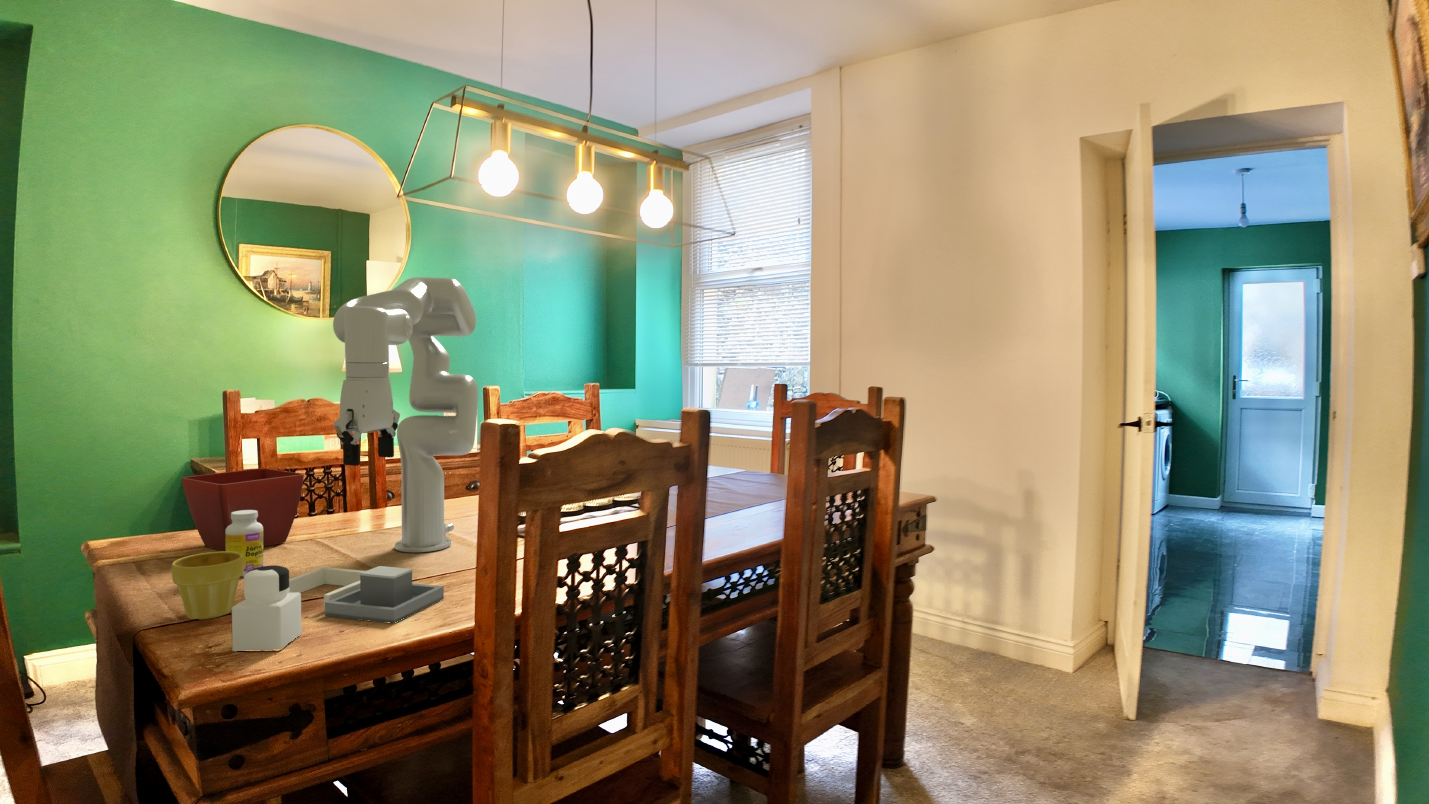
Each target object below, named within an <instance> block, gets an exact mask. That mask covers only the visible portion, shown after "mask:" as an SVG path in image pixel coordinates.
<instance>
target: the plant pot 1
mask: <svg viewBox="0 0 1429 804" xmlns="http://www.w3.org/2000/svg"><path fill="white" fill-rule="evenodd" d="M304 477H305V474H304V473H300V472H293V471H286V470H281V469H279V470H278V469H274V468H267V467H266V468H263V467H261V468H254V469H243V470H241V469H240V470H234V471H233V470H232V471H225V472H218V473H217V472H214V473H207V474H206V473H205V474H200V475H199V474H198V475H190V476H183V477H181V481H182V482H181V483H182V487H183V491H184V495H185V499H186V501H187V506H188V509H189V512H190V516H191V518H192V520H193V523H194V525H195V527H196V530H197V532H198V535H199V536H200V538H201V540H202V543H203V546H204V547H207V548H209V549H210V548H211V549H214V550H218V551H226V536H225V531H226V528H227V527H228V526H229V525H231V524H232V519H231V513H232V512H235V511H241V510H256V511H258V517H257V519H256V520H257V522H258V523H260V524H262V526H263V548H264V547H269V546H274V545H280V544H283V543H286V542H287V539H288V537H289V535H290V532H291V529H292V526H293V525H294V524H293V523H294V521H295V518H296V516H297V512H298V508H299V504H300V500H301V495H302V490H303V486H304V485H303V484H304V480H305V479H304Z"/></svg>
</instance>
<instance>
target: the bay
mask: <svg viewBox="0 0 1429 804" xmlns="http://www.w3.org/2000/svg"><path fill="white" fill-rule="evenodd" d="M365 571H366V570H360V569H359V570H357V569H350V568H340V567H338V568H337V567H329V566H328V567H327V566H323V567H319V568H317V569H314V570H311V571H308V572H305V573H303V574H300V575H299V574H298V575H297V576H294V577H292V578H290V577H289V592H288V593H295V592H299V593H301V594H302V593H304V592H306V591H309V590H312V589H315V588H317V587H321V586H322V585H332V586H333V585H334V586H341V587H339V588H336V589H335V590H332V591H329V592H328V593H324V594H323V611H324V612H325V602H327V601H330V600H332V599H335V598H337V597H339V596H342V595H344V594H347V593H349V592H352V591H354V590H357V589H359V588H360V573H362V572H365Z"/></svg>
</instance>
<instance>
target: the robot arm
mask: <svg viewBox="0 0 1429 804" xmlns="http://www.w3.org/2000/svg"><path fill="white" fill-rule="evenodd" d="M476 326H477V317H476V311H475V309H474V305H473V304H472V302H471V300H470V297H469V295H468V293H467V292H466V290H465V288H464V286H463V285H462V284H461V283H460V282H459V281H457V279H455V278H450V277H430V276H429V277H428V276H427V277H426V276H424V277H423V276H420V277H419V276H417V277H416V276H414V277H410V278H408V279H405V280H404V281H403V282H401V283H400V284H398V285H397V286H396V287H394V288H393V289H391V290H387V291H381V292H377V293H372V294H367V295H363V296H359V297H356V298H352V299H350V300H348V301H347V302H345V303H343V304H342V305H341V306H340V307H339V308H338V309H337V310H336V313H335V314H334V316H333V320H332V328H333V332H334V334H335V336H336V338H337V339H338V340H339V341H340V342H341V343H343V344H344V357H345V358H344V359H345V360H344V361H345V362H344V364H345V379H343V381H342V384H341V392H340V397H339V398H340V400H339V417H338V418H337V419H336V420H335V421H334V422H333V424H332V425H333V428H334V430H335V432H336V436H337V438H338V439H339V442H340V444H341V445H342V458H343V459H342V460H343V465H344V466H352V467H354V466H355V467H358V466H360V465H361V444H360V443H358V442H359V440H360V439H361V436H362V434H366V433H371V432H377V433H378V434H379V435H380V436H377V455H378V457H379V458H391V459H392V458H394V457H395V437H396V440H397V446H398V451H399V456H400V467H401V468H400V469H401V470H400V471H401V472H400V473H401V539H400V540H398V541H396V542H395V543H394V549H395V550H396V551H398V552H403V553H427V552H429V553H430V552H436V551H439V550H445V549H446V548H449V547H451V545H452V539H451V538H449V537H446V534H447V533H449V532H452V531H453V530H454V529H455V526H454V524H453V523H447V524H445V474H444V473H445V472H444V470H443V468H442V466H441V464H440V463H439V462H438V461H437V459H436V458H435V457H436V456H464V455H465V456H466V455H468V454H469V453H471V452H472V450H473V449H474V445H475V438H476V429H477V420H478V419H477V418H478V417H477V416H478V407H479V388H478V384H477V381H476V379H475V378H474V377H472V376H471V375H469V374H464V373H463V374H462V373H450V367H451V366H450V365H451V364H450V363H451V358H450V357H451V355H449V352H448V351H447V350H446V348H445V347H444V346H443V345H442V344H441V342H439V340H437V339H436V338H435V337H460V338H461V337H469V336H470V335H472V334H473V333H474V331H475V329H476ZM407 341H408V342H409V345H410V348H411V351H412V356H413V358H412V359H413V361H412V367H411V377H410V386H409V393H408V395H409V396H408V401H409V404H410V406H411V408H412V409H413V410H415V411H417V412H421V413H440V414H441V413H442V414H443V413H444V414H445V413H450V414H451V413H453V414H455V415H435V414H433V415H431V414H430V415H426V414H423V415H422V414H421V415H411V416H408V417H405V418H403V419H402V420H401V421H400V418H401V414H400V412H398V411H396V409H394V401H393V400H394V399H393V392H392V386H391V381H390V380H391V379H390V358H389V357H390V352H389V349H390V347H389V346H399V345H403V344H405V343H406V342H407ZM399 421H400V422H399ZM352 434H353V435H352Z"/></svg>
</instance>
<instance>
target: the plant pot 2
mask: <svg viewBox="0 0 1429 804" xmlns="http://www.w3.org/2000/svg"><path fill="white" fill-rule="evenodd" d="M243 573H244V556H243V554H241V553H239V552H231V551H221V550H219V551H209V552H201V553H196V554H192V555H191V554H190V555H186V556H183V557H181V558H177V559H176V560H174V561H173V562H172V563H171V577H172V578H171V579H172V583H173V584H174V585H176V586H177V588H178V591H179V594H180V598H181V601H182V604H183V608H184V611H185V615H186V617H187V619H190V620H194V619H199V621H200V620H208V619H215V618H219V617H222V616H223V617H224V616H226V615H228V614H229V613H232V612H231V609H232V607H233V606H235V605H234V604H235V599H236V595H237V590H238V586H239V585H238V584H239V581H240V578H241V577H240V576H241V575H242V574H243Z"/></svg>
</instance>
